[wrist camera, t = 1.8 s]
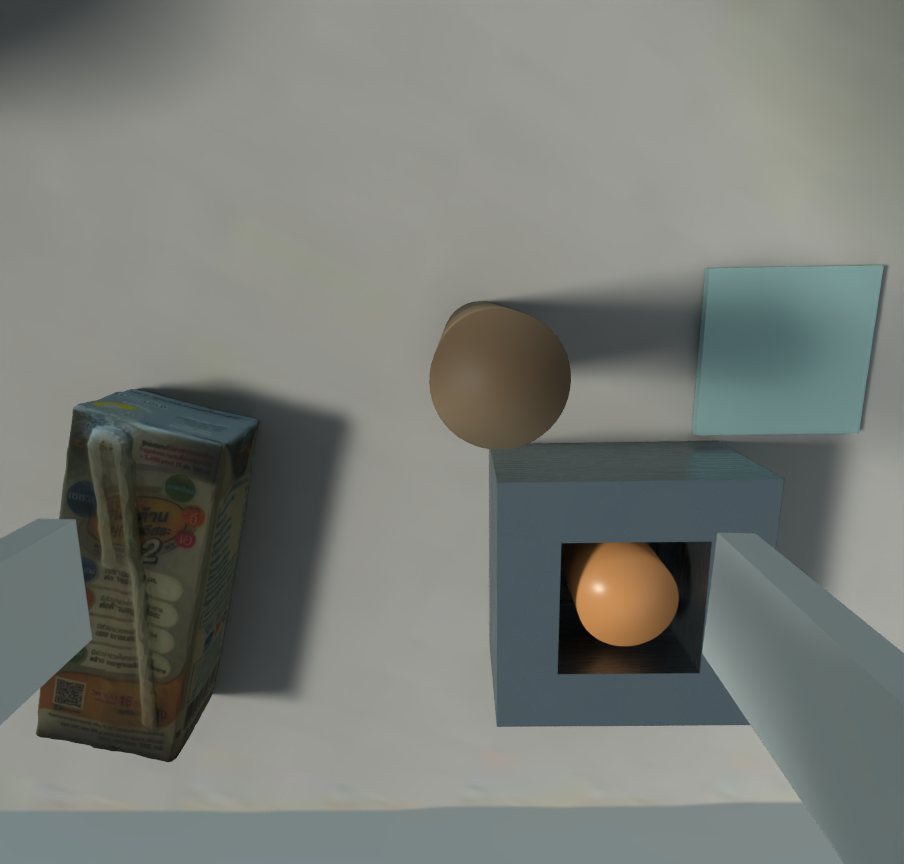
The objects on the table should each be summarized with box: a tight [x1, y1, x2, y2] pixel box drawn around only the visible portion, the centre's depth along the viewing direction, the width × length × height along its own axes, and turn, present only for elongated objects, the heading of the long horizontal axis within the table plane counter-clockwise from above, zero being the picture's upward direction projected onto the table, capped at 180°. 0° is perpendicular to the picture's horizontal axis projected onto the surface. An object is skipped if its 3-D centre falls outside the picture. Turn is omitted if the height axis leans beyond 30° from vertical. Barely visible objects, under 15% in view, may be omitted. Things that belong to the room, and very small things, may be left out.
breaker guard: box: [489, 441, 784, 727], centre depth 32 cm, size 13×13×7 cm
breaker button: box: [561, 542, 679, 646], centre depth 31 cm, size 5×5×5 cm
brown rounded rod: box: [429, 301, 571, 450], centre depth 24 cm, size 4×4×16 cm
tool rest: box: [692, 265, 884, 435], centre depth 32 cm, size 9×9×1 cm
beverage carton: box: [36, 389, 259, 762], centre depth 32 cm, size 8×19×7 cm, turn 166°
